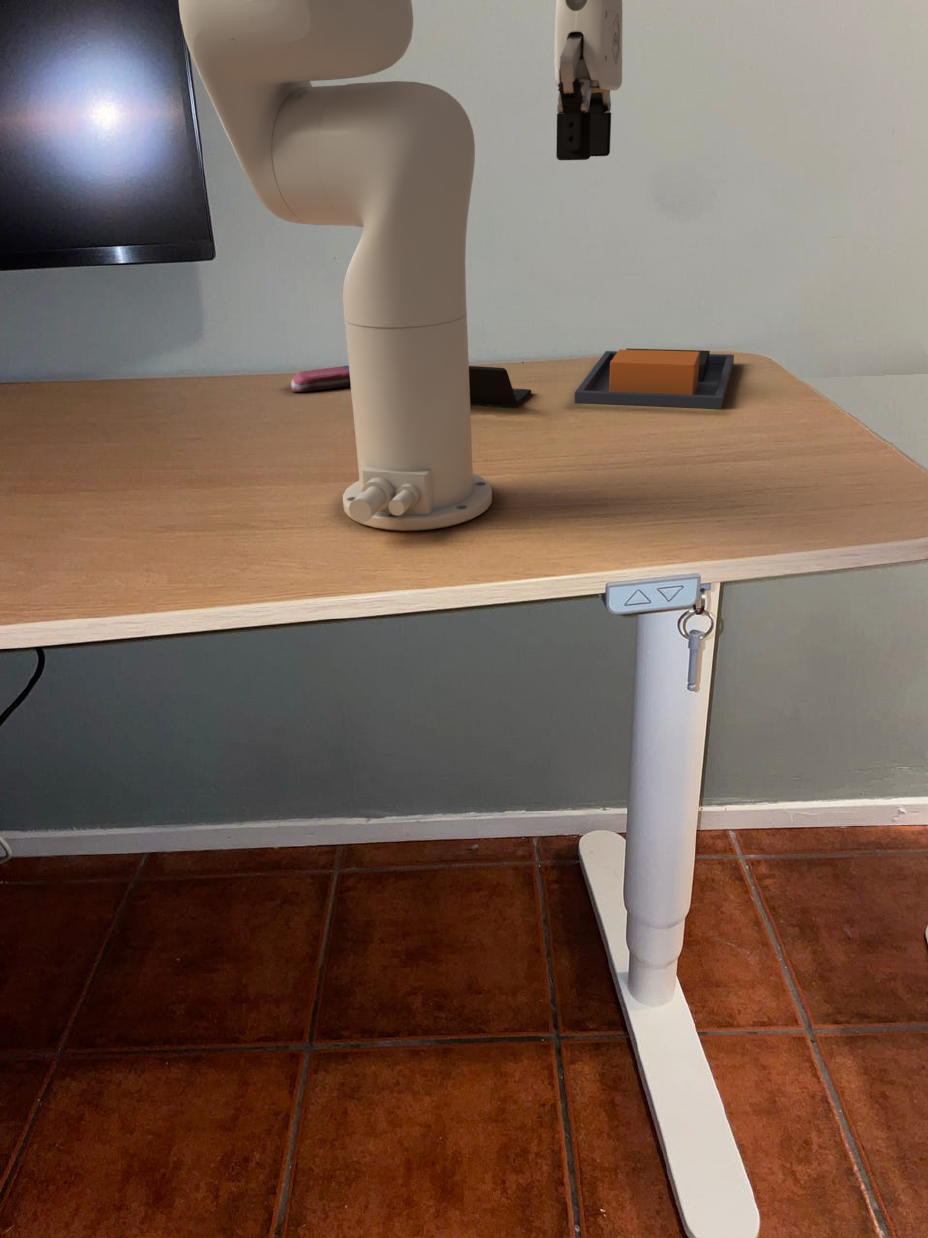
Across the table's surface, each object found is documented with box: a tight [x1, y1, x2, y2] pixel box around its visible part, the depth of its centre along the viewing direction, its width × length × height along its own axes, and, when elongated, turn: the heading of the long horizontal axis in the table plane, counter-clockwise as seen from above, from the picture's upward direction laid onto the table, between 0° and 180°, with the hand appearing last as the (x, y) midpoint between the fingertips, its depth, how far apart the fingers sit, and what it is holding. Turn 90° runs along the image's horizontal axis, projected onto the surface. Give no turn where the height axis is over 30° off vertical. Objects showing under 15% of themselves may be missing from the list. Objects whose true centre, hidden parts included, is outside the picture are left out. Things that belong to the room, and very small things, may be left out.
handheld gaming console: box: [469, 365, 532, 409], centre depth 110 cm, size 12×7×10 cm
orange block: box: [609, 349, 700, 395], centre depth 110 cm, size 6×9×4 cm, turn 73°
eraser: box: [290, 364, 351, 392], centre depth 121 cm, size 11×4×2 cm, turn 105°
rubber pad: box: [625, 347, 711, 382], centre depth 118 cm, size 7×10×2 cm
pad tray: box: [574, 350, 735, 410], centre depth 115 cm, size 20×16×2 cm
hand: (584, 157), depth 99 cm, fingers open, 9 cm apart
